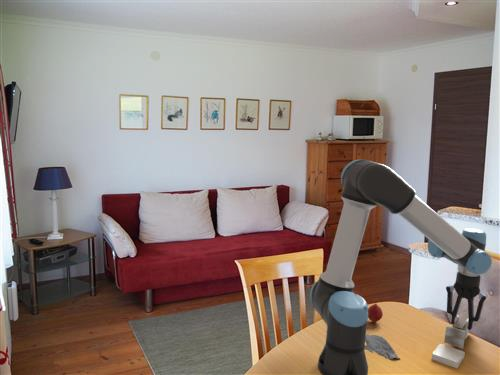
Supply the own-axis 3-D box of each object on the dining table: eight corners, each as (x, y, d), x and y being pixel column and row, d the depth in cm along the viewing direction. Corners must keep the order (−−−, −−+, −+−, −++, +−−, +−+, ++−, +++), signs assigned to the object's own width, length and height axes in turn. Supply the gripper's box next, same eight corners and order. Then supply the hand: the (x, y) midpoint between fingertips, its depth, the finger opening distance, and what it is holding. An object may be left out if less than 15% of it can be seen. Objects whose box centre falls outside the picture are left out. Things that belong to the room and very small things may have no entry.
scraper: (444, 342, 155) (446, 326, 154) (457, 324, 169) (459, 309, 168) (462, 348, 151) (464, 332, 150) (474, 330, 165) (477, 314, 164)
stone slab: (351, 331, 162) (377, 328, 164) (351, 335, 163) (377, 333, 164) (373, 359, 145) (401, 356, 146) (372, 364, 145) (401, 361, 147)
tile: (439, 349, 155) (431, 360, 148) (440, 343, 154) (432, 353, 147) (464, 358, 150) (457, 369, 143) (464, 351, 150) (457, 362, 143)
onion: (363, 319, 174) (365, 300, 172) (375, 318, 175) (377, 299, 174) (371, 326, 168) (373, 306, 167) (384, 325, 170) (386, 305, 169)
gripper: (496, 276, 154) (486, 339, 158) (447, 264, 164) (439, 324, 168) (492, 281, 148) (482, 347, 152) (441, 269, 158) (433, 331, 162)
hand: (460, 335), depth 160 cm, fingers closed on scraper, 3 cm apart
